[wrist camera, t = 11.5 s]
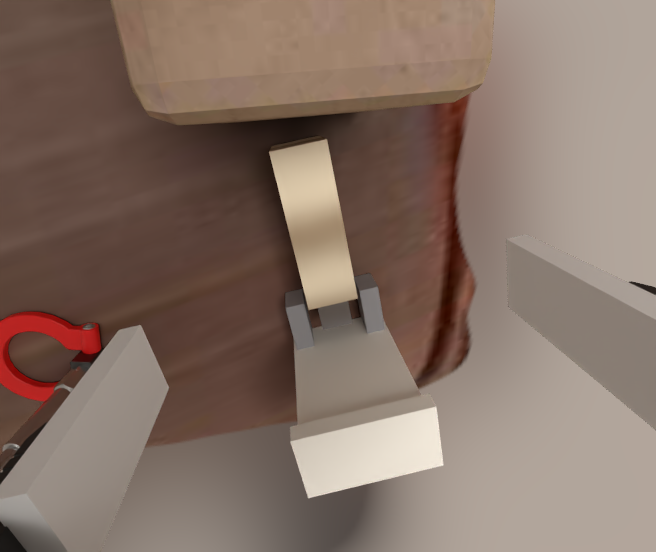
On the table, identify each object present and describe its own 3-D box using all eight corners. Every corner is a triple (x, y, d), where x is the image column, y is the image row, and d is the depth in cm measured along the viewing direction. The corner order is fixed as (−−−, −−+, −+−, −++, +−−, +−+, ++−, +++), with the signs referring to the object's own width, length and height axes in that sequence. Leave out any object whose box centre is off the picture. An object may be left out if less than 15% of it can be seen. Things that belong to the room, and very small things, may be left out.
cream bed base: (277, 294, 34) (275, 392, 22) (377, 271, 34) (430, 355, 22) (299, 373, 37) (308, 498, 25) (390, 352, 37) (443, 465, 25)
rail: (271, 146, 29) (268, 152, 24) (318, 135, 30) (326, 139, 24) (312, 309, 35) (317, 345, 29) (351, 300, 35) (364, 334, 29)
